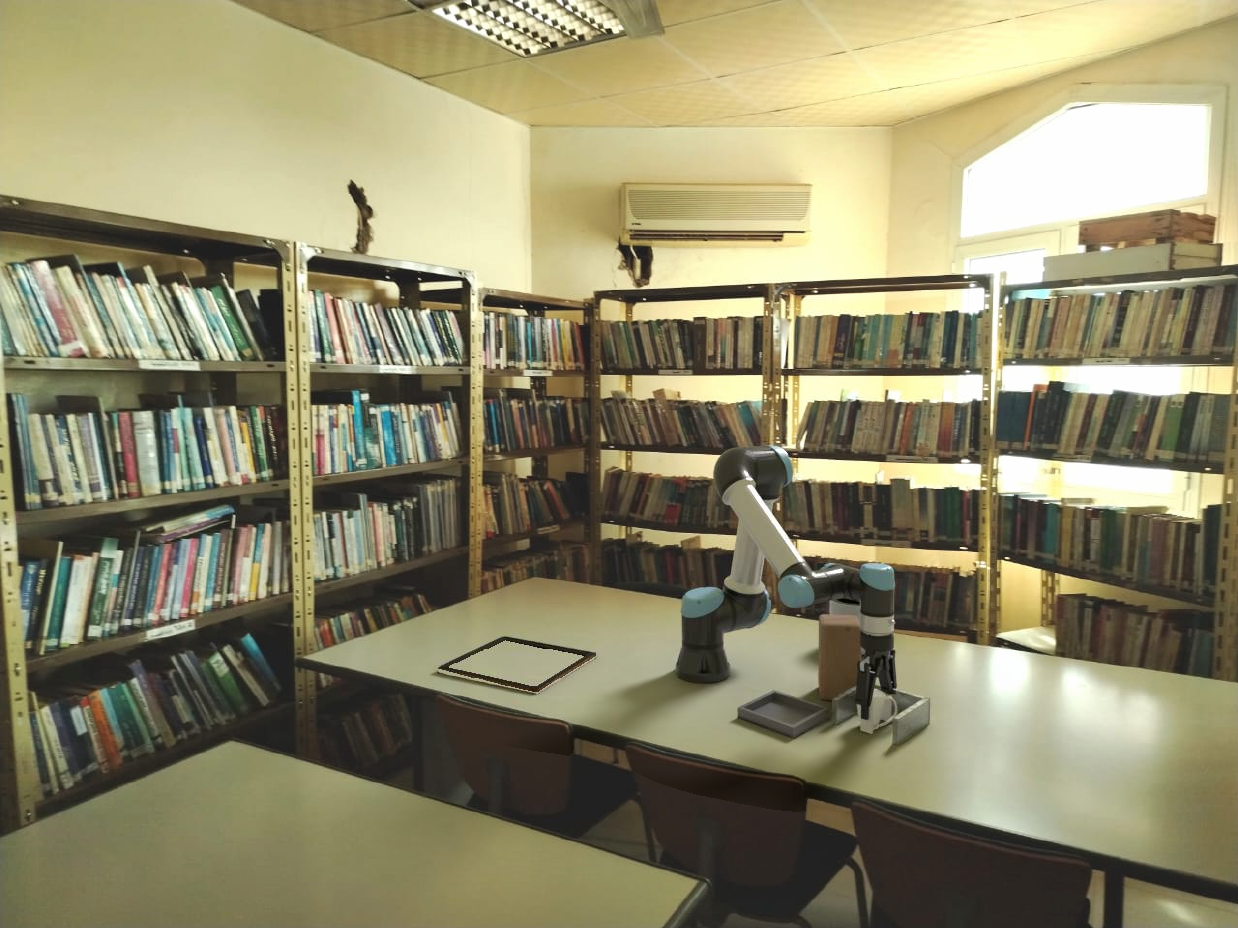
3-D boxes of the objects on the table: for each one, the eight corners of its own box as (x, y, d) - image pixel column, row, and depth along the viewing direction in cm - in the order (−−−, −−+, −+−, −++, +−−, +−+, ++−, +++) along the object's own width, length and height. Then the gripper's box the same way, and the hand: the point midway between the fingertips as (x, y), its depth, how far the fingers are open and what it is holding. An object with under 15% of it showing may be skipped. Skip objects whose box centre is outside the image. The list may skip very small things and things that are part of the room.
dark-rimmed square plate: (428, 679, 217) (427, 669, 217) (493, 641, 250) (493, 633, 250) (549, 699, 203) (549, 688, 203) (602, 656, 236) (602, 647, 235)
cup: (849, 720, 185) (850, 687, 185) (890, 720, 186) (891, 687, 185) (859, 732, 178) (860, 697, 178) (902, 732, 178) (903, 697, 178)
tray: (737, 717, 188) (737, 707, 188) (773, 699, 198) (774, 689, 198) (793, 738, 176) (793, 727, 176) (829, 718, 187) (829, 707, 186)
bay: (831, 722, 184) (832, 698, 184) (866, 703, 195) (866, 680, 194) (897, 745, 172) (897, 719, 172) (929, 722, 183) (930, 698, 183)
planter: (895, 649, 234) (896, 599, 232) (860, 661, 225) (861, 608, 223) (852, 636, 247) (852, 588, 245) (817, 646, 238) (818, 596, 236)
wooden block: (861, 703, 195) (862, 626, 193) (820, 700, 197) (820, 624, 195) (857, 688, 205) (858, 614, 203) (818, 685, 207) (818, 612, 205)
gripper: (869, 645, 170) (868, 745, 172) (913, 624, 184) (912, 716, 186) (838, 638, 175) (838, 735, 177) (883, 618, 189) (882, 708, 191)
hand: (876, 725), depth 182 cm, fingers open, 8 cm apart
